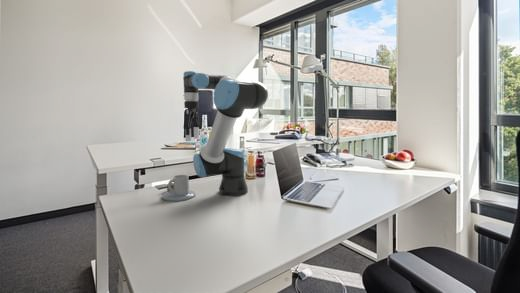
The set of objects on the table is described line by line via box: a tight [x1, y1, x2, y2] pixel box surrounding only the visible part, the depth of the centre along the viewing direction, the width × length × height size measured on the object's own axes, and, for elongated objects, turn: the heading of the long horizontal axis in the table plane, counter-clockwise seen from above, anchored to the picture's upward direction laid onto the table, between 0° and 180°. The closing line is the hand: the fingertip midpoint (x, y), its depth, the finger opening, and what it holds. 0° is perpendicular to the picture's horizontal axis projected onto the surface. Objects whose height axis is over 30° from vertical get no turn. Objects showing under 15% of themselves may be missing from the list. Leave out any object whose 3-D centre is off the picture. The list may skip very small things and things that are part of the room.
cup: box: [167, 174, 190, 196], centre depth 141 cm, size 7×10×9 cm
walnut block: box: [166, 182, 174, 192], centre depth 151 cm, size 4×4×4 cm
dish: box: [161, 189, 196, 202], centre depth 143 cm, size 16×16×1 cm
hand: (192, 139), depth 157 cm, fingers open, 13 cm apart
